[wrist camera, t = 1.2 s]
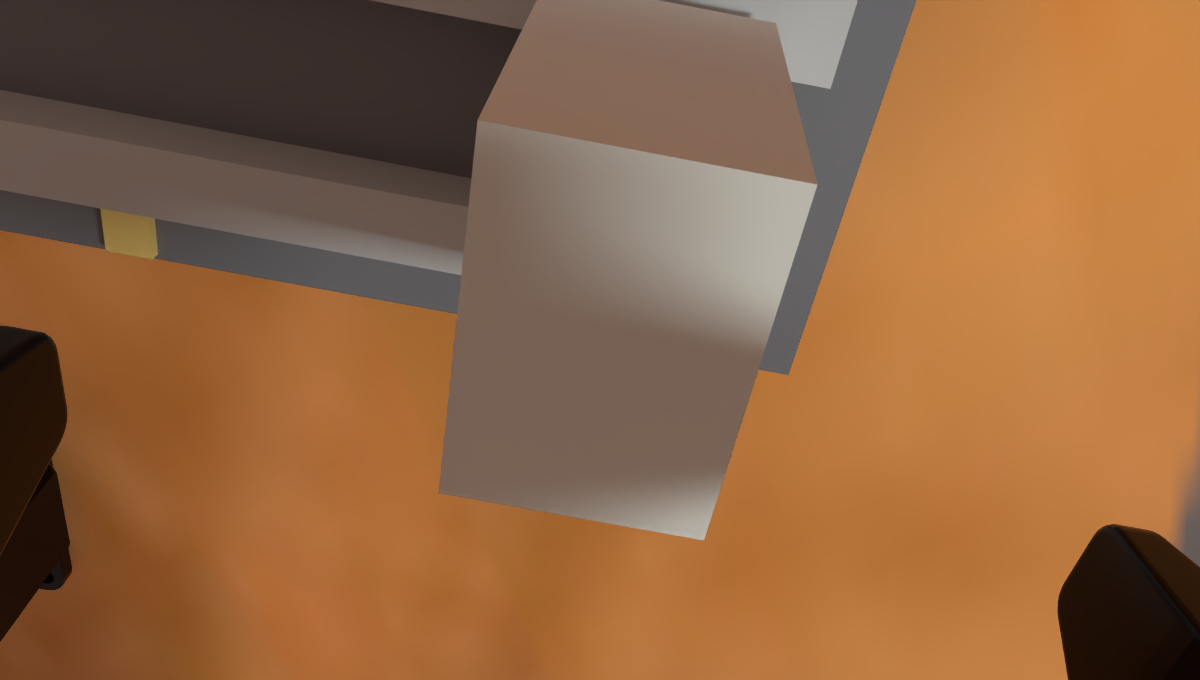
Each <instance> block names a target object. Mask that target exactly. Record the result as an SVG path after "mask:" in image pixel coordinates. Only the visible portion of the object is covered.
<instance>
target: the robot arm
mask: <svg viewBox="0 0 1200 680" xmlns="http://www.w3.org/2000/svg"><path fill="white" fill-rule="evenodd" d="M66 423H67V405H66V399H65V393H64V387H63V381H62V375H61V369H60V363H59V357H58V352H57V348H56V345H55V343H54V341H53V340H52V338H51V337H50V336H48V335H46V334H45V333H42V332H37V331H32V330H26V329H21V328H15V327H9V326H0V641H1V640H2V639H3V637H4V636H5V635H6V633H7V632H8V630H9V629H10V628H11V626H12V625H13V624H14V622H15V621H16V619H17V618H18V617H19V615H20V614H21V613H22V611H23V610H24V608H25V607H26V606H27V604H28V603H29V601H30V600H31V599H32V597H33V596H34V595H35V593H36V592H37V590H38V589H39V588H40V589H46V590H55V589H59V588H60V587H61V586H62V585H63V584H64V583H65V581H66V580H67V578H68V577H69V575H70V574H71V572H72V565H71V560H70V555H69V549H68V547H69V545H70V541H69V536H68V531H67V525H66V520H65V515H64V509H63V504H62V498H61V493H60V488H59V482H58V477H57V473H56V471H55V469H54V468H53V464H52V457H53V455H54V453H55V451H56V449H57V447H58V446H59V444H60V442H61V439H62V437H63V435H64V432H65V428H66ZM1058 619H1059V626H1060V632H1061V638H1062V645H1063V651H1064V657H1065V663H1066V670H1067V676H1068V680H1200V567H1199V566H1198V565H1197V564H1195V563H1194V562H1193V561H1192V560H1190V559H1189V558H1188V557H1187V556H1185V555H1184V554H1183V553H1182V552H1181V551H1179V550H1178V549H1177V548H1176V547H1174V546H1173V545H1172V544H1171V543H1169V542H1168V541H1167V540H1166V539H1165V538H1163V537H1162V536H1161V535H1159V534H1157V533H1155V532H1153V531H1149V530H1145V529H1139V528H1134V527H1128V526H1122V525H1117V524H1111V525H1106V526H1104V527H1102V528H1101V529H1099V530H1098V531H1097V532H1096V533H1095V535H1094V536H1093V538H1092V539H1091V541H1090V542H1089V544H1088V546H1087V547H1086V549H1085V550H1084V552H1083V554H1082V555H1081V557H1080V558H1079V560H1078V562H1077V563H1076V565H1075V566H1074V568H1073V570H1072V571H1071V573H1070V574H1069V576H1068V578H1067V579H1066V581H1065V582H1064V584H1063V586H1062V589H1061V591H1060V594H1059V599H1058Z"/></svg>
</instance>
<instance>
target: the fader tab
mask: <svg viewBox="0 0 1200 680" xmlns="http://www.w3.org/2000/svg"><path fill="white" fill-rule="evenodd" d="M817 185H818V184H817V180H816V177H815V173H814V169H813V165H812V161H811V157H810V153H809V149H808V146H807V142H806V138H805V134H804V130H803V126H802V122H801V118H800V115H799V111H798V107H797V103H796V99H795V95H794V91H793V87H792V83H791V80H790V76H789V72H788V68H787V64H786V60H785V56H784V52H783V49H782V45H781V41H780V37H779V33H778V29H777V25H776V23H773V22H768V21H763V20H758V19H753V18H747V17H742V16H737V15H732V14H727V13H722V12H717V11H711V10H706V9H701V8H696V7H691V6H686V5H681V4H675V3H670V2H665V1H660V0H537V1H536V3H535V5H534V7H533V9H532V11H531V13H530V15H529V17H528V19H527V21H526V23H525V25H524V27H523V29H522V31H521V33H520V35H519V37H518V39H517V41H516V43H515V45H514V47H513V49H512V51H511V53H510V55H509V57H508V59H507V61H506V63H505V66H504V68H503V70H502V72H501V74H500V76H499V78H498V80H497V82H496V84H495V86H494V88H493V90H492V92H491V94H490V96H489V98H488V100H487V102H486V104H485V106H484V108H483V110H482V112H481V114H480V116H479V118H478V121H477V130H476V140H475V150H474V159H473V169H472V178H471V188H470V198H469V207H468V217H467V226H466V236H465V245H464V255H463V265H462V274H461V284H460V293H459V303H458V313H457V322H456V332H455V341H454V351H453V360H452V370H451V380H450V389H449V399H448V408H447V418H446V428H445V437H444V447H443V456H442V466H441V476H440V485H439V493H441V494H447V495H452V496H458V497H464V498H469V499H475V500H481V501H486V502H492V503H497V504H503V505H509V506H514V507H520V508H525V509H531V510H537V511H542V512H548V513H553V514H559V515H565V516H570V517H576V518H581V519H587V520H593V521H598V522H604V523H610V524H615V525H621V526H626V527H632V528H638V529H643V530H649V531H654V532H660V533H666V534H671V535H677V536H682V537H688V538H694V539H699V540H704V538H705V535H706V532H707V529H708V526H709V523H710V520H711V517H712V513H713V510H714V507H715V504H716V501H717V498H718V495H719V492H720V488H721V485H722V482H723V479H724V476H725V473H726V470H727V467H728V463H729V460H730V457H731V454H732V451H733V448H734V445H735V441H736V438H737V435H738V432H739V429H740V426H741V423H742V420H743V416H744V413H745V410H746V407H747V404H748V401H749V398H750V395H751V391H752V388H753V385H754V382H755V379H756V376H757V373H758V370H759V366H760V363H761V360H762V357H763V354H764V351H765V348H766V344H767V341H768V338H769V335H770V332H771V329H772V326H773V323H774V319H775V316H776V313H777V310H778V307H779V304H780V301H781V298H782V294H783V291H784V288H785V285H786V282H787V279H788V276H789V273H790V269H791V266H792V263H793V260H794V257H795V254H796V251H797V247H798V244H799V241H800V238H801V235H802V232H803V229H804V226H805V222H806V219H807V216H808V213H809V210H810V207H811V204H812V201H813V197H814V194H815V191H816V188H817Z"/></svg>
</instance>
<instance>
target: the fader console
mask: <svg viewBox="0 0 1200 680" xmlns="http://www.w3.org/2000/svg"><path fill="white" fill-rule="evenodd" d="M536 1H537V0H0V230H3V231H9V232H14V233H20V234H25V235H30V236H36V237H41V238H47V239H52V240H58V241H63V242H69V243H74V244H79V245H85V246H90V247H96V248H101V249H106V251H109V252H114V253H119V254H125V255H130V256H136V257H141V258H147V259H152V260H153V259H154V258H156V259H161V260H166V261H172V262H177V263H183V264H188V265H194V266H199V267H205V268H210V269H215V270H221V271H226V272H232V273H237V274H243V275H248V276H253V277H259V278H264V279H270V280H275V281H281V282H286V283H292V284H297V285H302V286H308V287H313V288H319V289H324V290H330V291H335V292H341V293H346V294H351V295H357V296H362V297H368V298H373V299H379V300H384V301H389V302H395V303H400V304H406V305H411V306H417V307H422V308H428V309H433V310H438V311H444V312H449V313H455V314H457V313H458V303H459V293H460V284H461V274H462V265H463V255H464V245H465V236H466V226H467V217H468V207H469V198H470V188H471V178H472V169H473V159H474V150H475V140H476V130H477V121H478V118H479V116H480V114H481V112H482V110H483V108H484V106H485V104H486V102H487V100H488V98H489V96H490V94H491V92H492V90H493V88H494V86H495V84H496V82H497V80H498V78H499V76H500V74H501V72H502V70H503V68H504V66H505V63H506V61H507V59H508V57H509V55H510V53H511V51H512V49H513V47H514V45H515V43H516V41H517V39H518V37H519V35H520V33H521V31H522V29H523V27H524V25H525V23H526V21H527V19H528V17H529V15H530V13H531V11H532V9H533V7H534V5H535V3H536ZM660 1H665V2H670V3H675V4H681V5H686V6H691V7H696V8H701V9H706V10H711V11H717V12H722V13H727V14H732V15H737V16H742V17H747V18H753V19H758V20H763V21H768V22H773V23H776V25H777V29H778V33H779V37H780V41H781V45H782V49H783V52H784V56H785V60H786V64H787V68H788V72H789V76H790V80H791V83H792V87H793V91H794V95H795V99H796V103H797V107H798V111H799V115H800V118H801V122H802V126H803V130H804V134H805V138H806V142H807V146H808V149H809V153H810V157H811V161H812V165H813V169H814V173H815V177H816V180H817V184H818V185H817V188H816V191H815V194H814V197H813V201H812V204H811V207H810V210H809V213H808V216H807V219H806V222H805V226H804V229H803V232H802V235H801V238H800V241H799V244H798V247H797V251H796V254H795V257H794V260H793V263H792V266H791V269H790V273H789V276H788V279H787V282H786V285H785V288H784V291H783V294H782V298H781V301H780V304H779V307H778V310H777V313H776V316H775V319H774V323H773V326H772V329H771V332H770V335H769V338H768V341H767V344H766V348H765V351H764V354H763V357H762V360H761V363H760V366H759V370H765V371H770V372H776V373H781V374H787V375H788V374H789V371H790V368H791V365H792V362H793V359H794V357H795V354H796V351H797V348H798V345H799V342H800V339H801V336H802V333H803V330H804V327H805V324H806V321H807V319H808V316H809V313H810V310H811V307H812V304H813V301H814V298H815V295H816V292H817V289H818V286H819V283H820V280H821V278H822V275H823V272H824V269H825V266H826V263H827V260H828V257H829V254H830V251H831V248H832V245H833V242H834V239H835V237H836V234H837V231H838V228H839V225H840V222H841V219H842V216H843V213H844V210H845V207H846V204H847V201H848V199H849V196H850V193H851V190H852V187H853V184H854V181H855V178H856V175H857V172H858V169H859V166H860V163H861V160H862V158H863V155H864V152H865V149H866V146H867V143H868V140H869V137H870V134H871V131H872V128H873V125H874V122H875V120H876V117H877V114H878V111H879V108H880V105H881V102H882V99H883V96H884V93H885V90H886V87H887V84H888V81H889V79H890V76H891V73H892V70H893V67H894V64H895V61H896V58H897V55H898V52H899V49H900V46H901V43H902V41H903V38H904V35H905V32H906V29H907V26H908V23H909V20H910V17H911V14H912V11H913V8H914V5H915V2H916V0H660Z"/></svg>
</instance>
